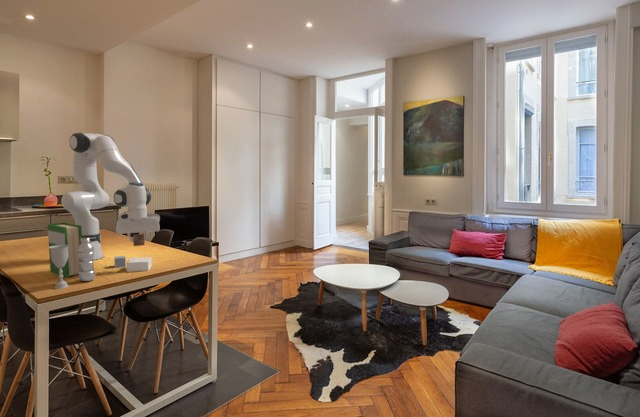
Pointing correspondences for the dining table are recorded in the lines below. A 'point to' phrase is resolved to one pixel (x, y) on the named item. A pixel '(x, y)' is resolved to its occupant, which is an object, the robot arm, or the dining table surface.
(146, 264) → the base block
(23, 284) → the dining table surface
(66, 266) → the hardback book
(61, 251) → the chalice
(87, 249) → the plastic bottle
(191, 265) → the dining table surface
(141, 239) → the walnut cube
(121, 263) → the blue-grey cube
